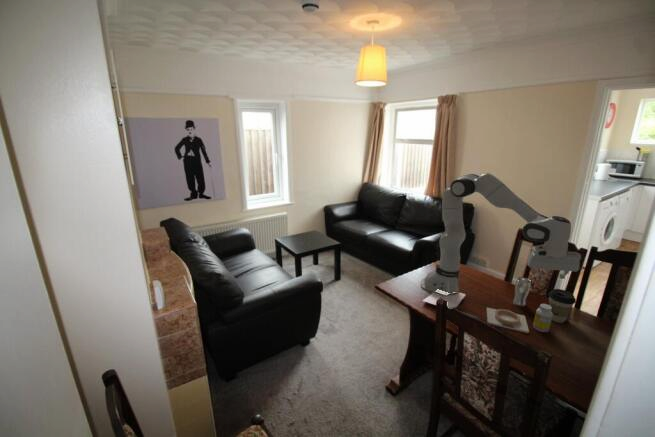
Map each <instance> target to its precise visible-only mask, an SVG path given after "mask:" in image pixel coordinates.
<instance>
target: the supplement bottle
mask: <svg viewBox="0 0 655 437" xmlns="http://www.w3.org/2000/svg"><path fill="white" fill-rule="evenodd" d="M551 310H552V307H551V306H550V305H549V304H547V303H541V304H540V305H539V307H538V308H537V309H536V312H535V315H534V319H533V323H532V326H533V328H534V329H535V330H536V331H539V332H541V333H548V332H549V331H550V328H551V324H552V321H553V320H552V316H553V313H552V312H551Z"/></svg>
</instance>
